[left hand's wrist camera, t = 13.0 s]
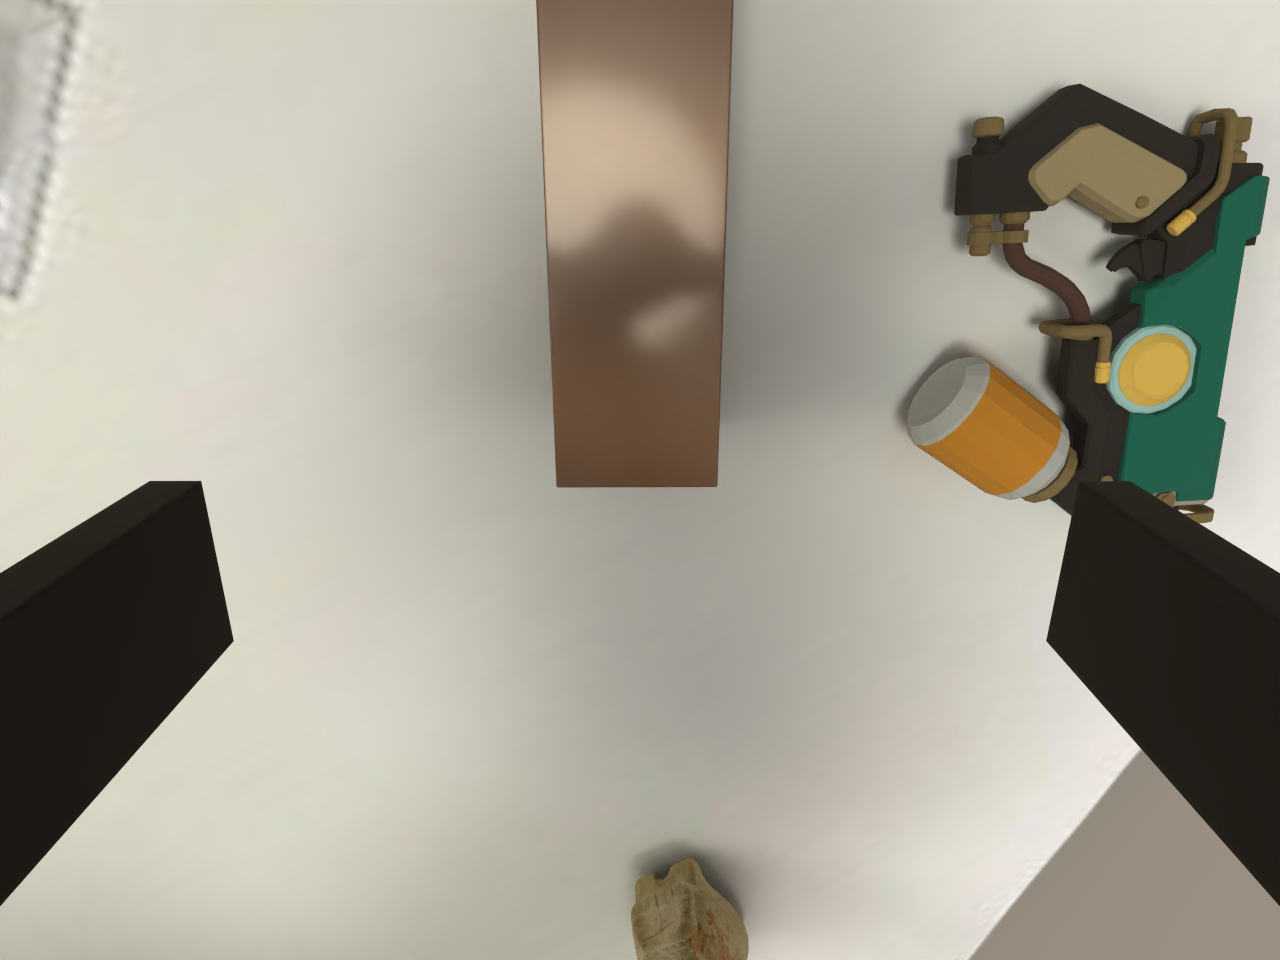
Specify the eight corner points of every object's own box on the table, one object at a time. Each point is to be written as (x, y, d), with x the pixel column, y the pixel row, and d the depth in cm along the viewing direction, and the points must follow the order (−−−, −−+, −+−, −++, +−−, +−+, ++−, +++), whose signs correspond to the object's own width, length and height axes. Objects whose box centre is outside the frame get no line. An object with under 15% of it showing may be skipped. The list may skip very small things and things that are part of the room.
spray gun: (972, 60, 31) (1320, 156, 32) (844, 472, 35) (1153, 537, 37) (1029, 35, 27) (1424, 146, 28) (875, 504, 31) (1221, 575, 33)
